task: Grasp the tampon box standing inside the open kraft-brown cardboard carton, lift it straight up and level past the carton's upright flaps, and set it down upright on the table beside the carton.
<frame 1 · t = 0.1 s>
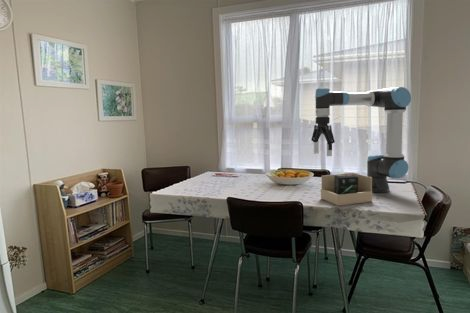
hand: (322, 154, 186), 28 cm above the table, tool pointing down, fingers open, 13 cm apart
tampon box: (345, 200, 195), resting in carton
carton: (345, 200, 195), on the table
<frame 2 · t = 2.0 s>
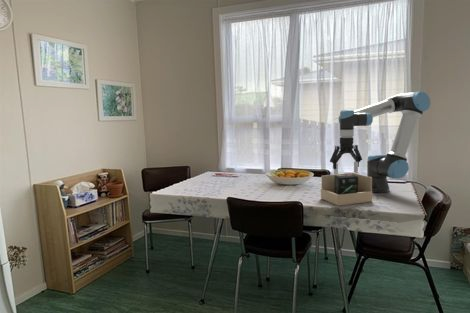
hand: (345, 173, 193), 16 cm above the table, tool pointing down, fingers open, 13 cm apart
nothing on the table moved.
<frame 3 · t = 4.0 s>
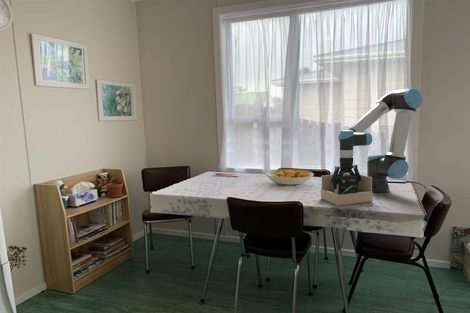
hand: (345, 193, 195), 4 cm above the table, tool pointing down, fingers closed on tampon box, 12 cm apart
tampon box: (345, 200, 195), resting in carton, touching gripper
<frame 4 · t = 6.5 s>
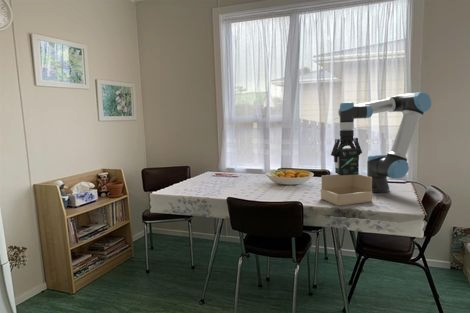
hand: (346, 166, 193), 20 cm above the table, tool pointing down, fingers closed on tampon box, 12 cm apart
tampon box: (346, 174, 193), point 15 cm above the table, touching gripper
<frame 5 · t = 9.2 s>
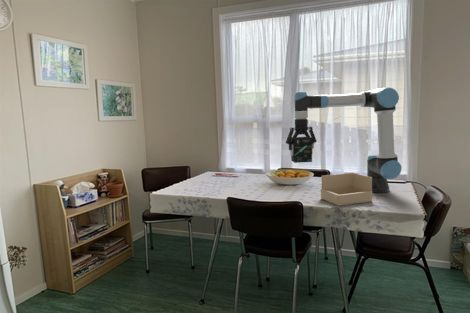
hand: (301, 154, 199), 27 cm above the table, tool pointing down, fingers closed on tampon box, 12 cm apart
tampon box: (301, 161, 200), point 22 cm above the table, touching gripper
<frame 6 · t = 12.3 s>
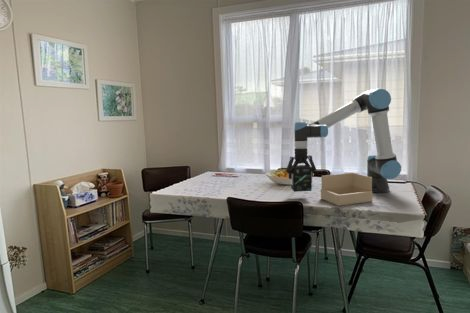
hand: (301, 183, 202), 9 cm above the table, tool pointing down, fingers closed on tampon box, 12 cm apart
tampon box: (301, 190, 202), point 5 cm above the table, touching gripper
when the fingers open (6 cm above the table, at t = 14.3 s): tampon box drops 2 cm, on the table.
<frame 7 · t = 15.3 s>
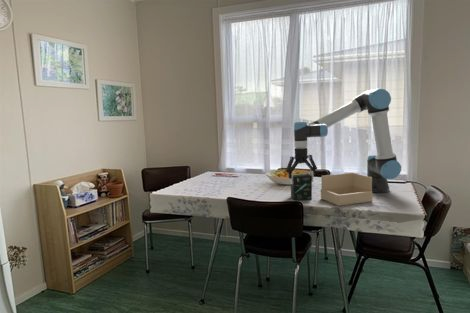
hand: (301, 182, 202), 10 cm above the table, tool pointing down, fingers open, 13 cm apart
tampon box: (301, 198, 203), on the table
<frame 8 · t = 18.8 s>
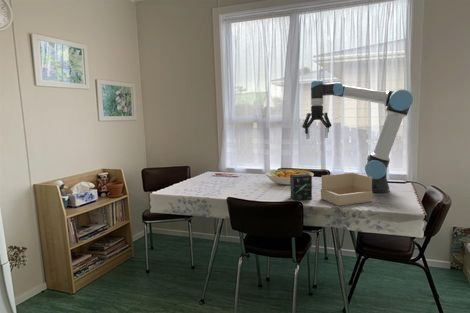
hand: (317, 138, 217), 35 cm above the table, tool pointing down, fingers open, 13 cm apart
nothing on the table moved.
at the end: tampon box inside the target area (0.5 cm from its centre), on the table; tampon box tilted 0°; the gripper is holding nothing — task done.
